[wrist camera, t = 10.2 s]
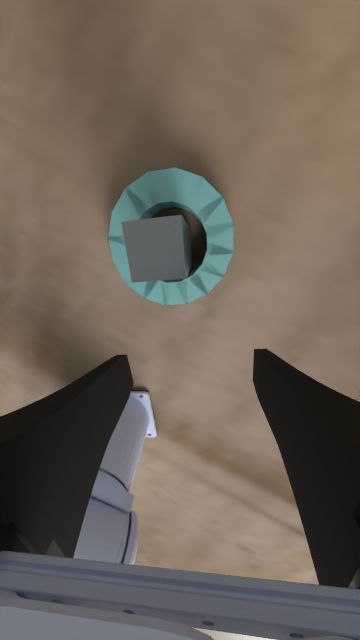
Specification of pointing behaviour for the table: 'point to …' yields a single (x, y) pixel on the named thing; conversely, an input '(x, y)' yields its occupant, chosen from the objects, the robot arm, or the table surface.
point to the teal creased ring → (186, 194)
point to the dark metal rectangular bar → (158, 248)
